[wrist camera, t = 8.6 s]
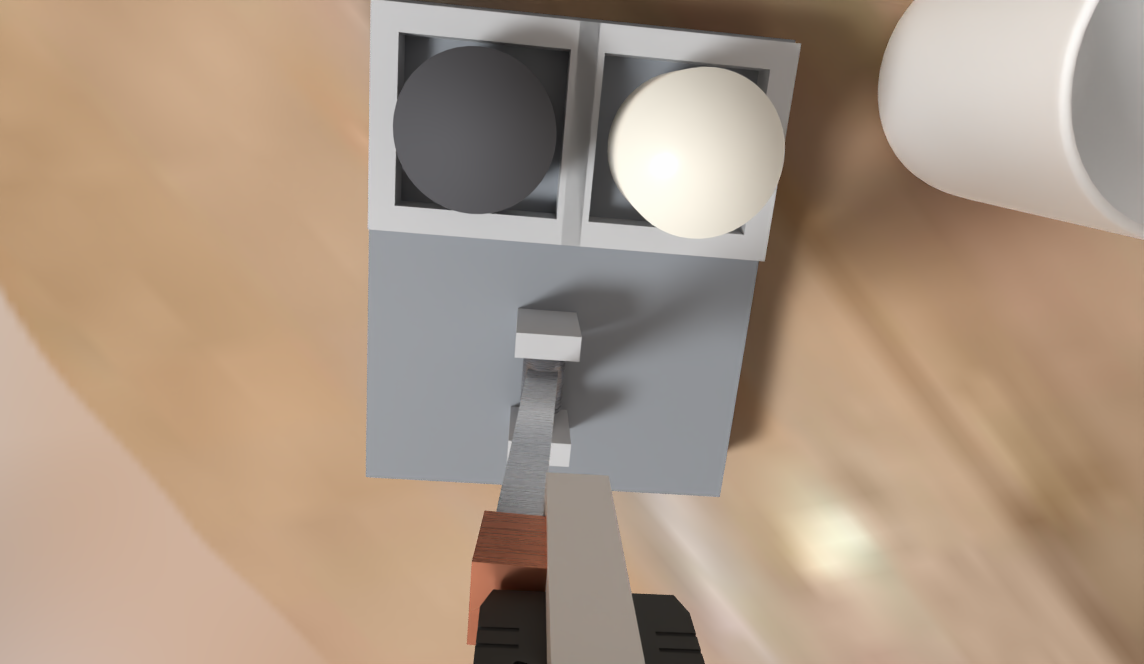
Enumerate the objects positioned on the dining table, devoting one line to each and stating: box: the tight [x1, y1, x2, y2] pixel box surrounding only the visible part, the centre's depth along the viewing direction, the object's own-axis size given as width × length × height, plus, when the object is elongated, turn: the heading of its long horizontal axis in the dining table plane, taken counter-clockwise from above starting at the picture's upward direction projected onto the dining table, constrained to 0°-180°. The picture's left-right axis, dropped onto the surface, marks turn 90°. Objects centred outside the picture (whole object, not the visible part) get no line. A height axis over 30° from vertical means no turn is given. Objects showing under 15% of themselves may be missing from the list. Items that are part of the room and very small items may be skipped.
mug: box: [878, 0, 1144, 240], centre depth 22 cm, size 12×8×10 cm
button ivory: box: [607, 67, 785, 239], centre depth 21 cm, size 4×4×3 cm
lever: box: [467, 358, 565, 645], centre depth 20 cm, size 2×1×13 cm
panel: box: [366, 0, 801, 497], centre depth 25 cm, size 16×13×6 cm
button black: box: [393, 46, 557, 214], centre depth 22 cm, size 4×4×3 cm
